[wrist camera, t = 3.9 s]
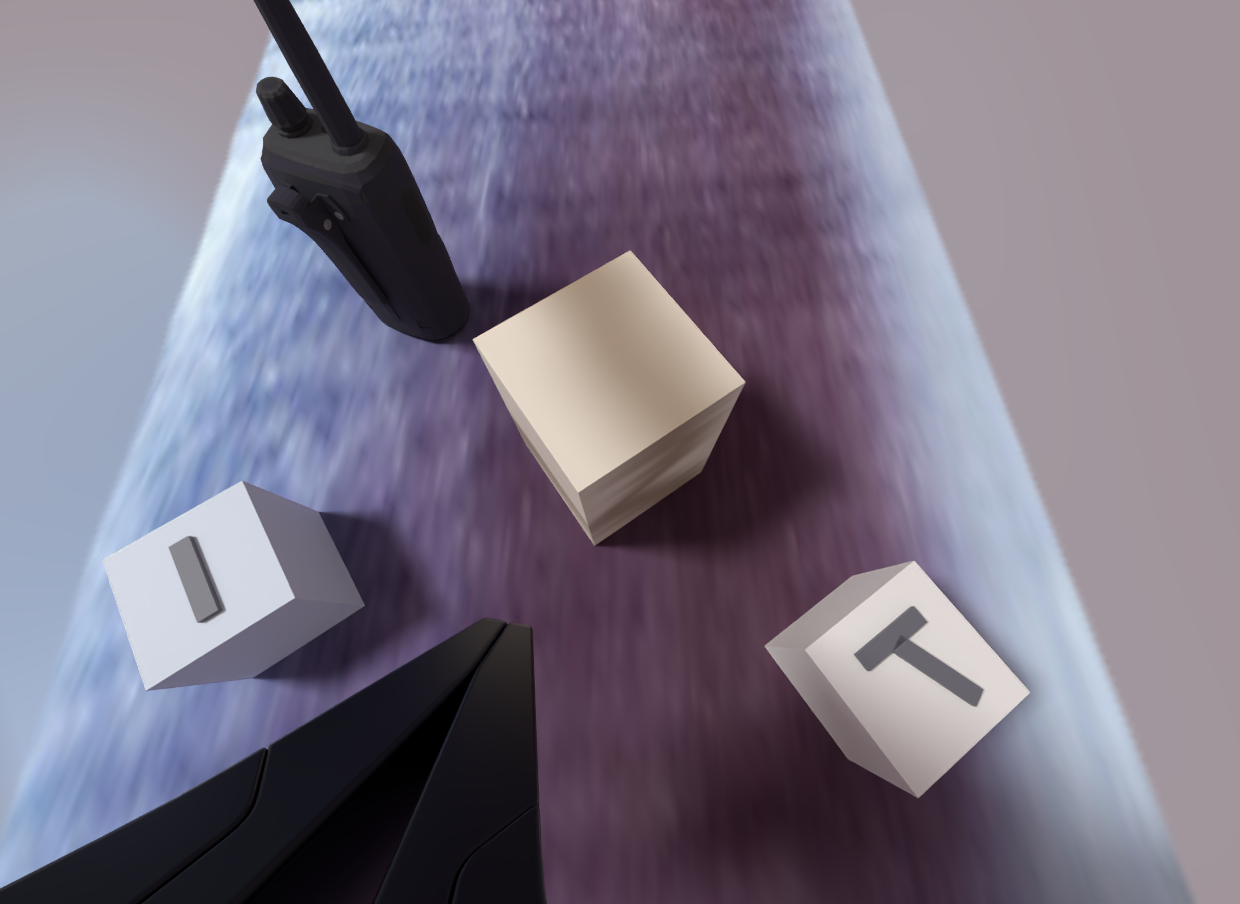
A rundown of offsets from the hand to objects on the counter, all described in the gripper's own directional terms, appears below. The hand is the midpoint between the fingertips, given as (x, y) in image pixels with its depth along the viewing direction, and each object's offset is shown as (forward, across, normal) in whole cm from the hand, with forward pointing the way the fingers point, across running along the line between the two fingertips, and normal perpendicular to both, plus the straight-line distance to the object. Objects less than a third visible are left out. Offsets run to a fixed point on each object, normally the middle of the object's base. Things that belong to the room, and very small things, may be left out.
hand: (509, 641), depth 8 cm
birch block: (+15, 0, -4) cm, 16 cm away
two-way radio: (+19, -11, 0) cm, 22 cm away
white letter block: (+10, +11, -9) cm, 18 cm away
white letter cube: (+9, -13, -10) cm, 19 cm away
